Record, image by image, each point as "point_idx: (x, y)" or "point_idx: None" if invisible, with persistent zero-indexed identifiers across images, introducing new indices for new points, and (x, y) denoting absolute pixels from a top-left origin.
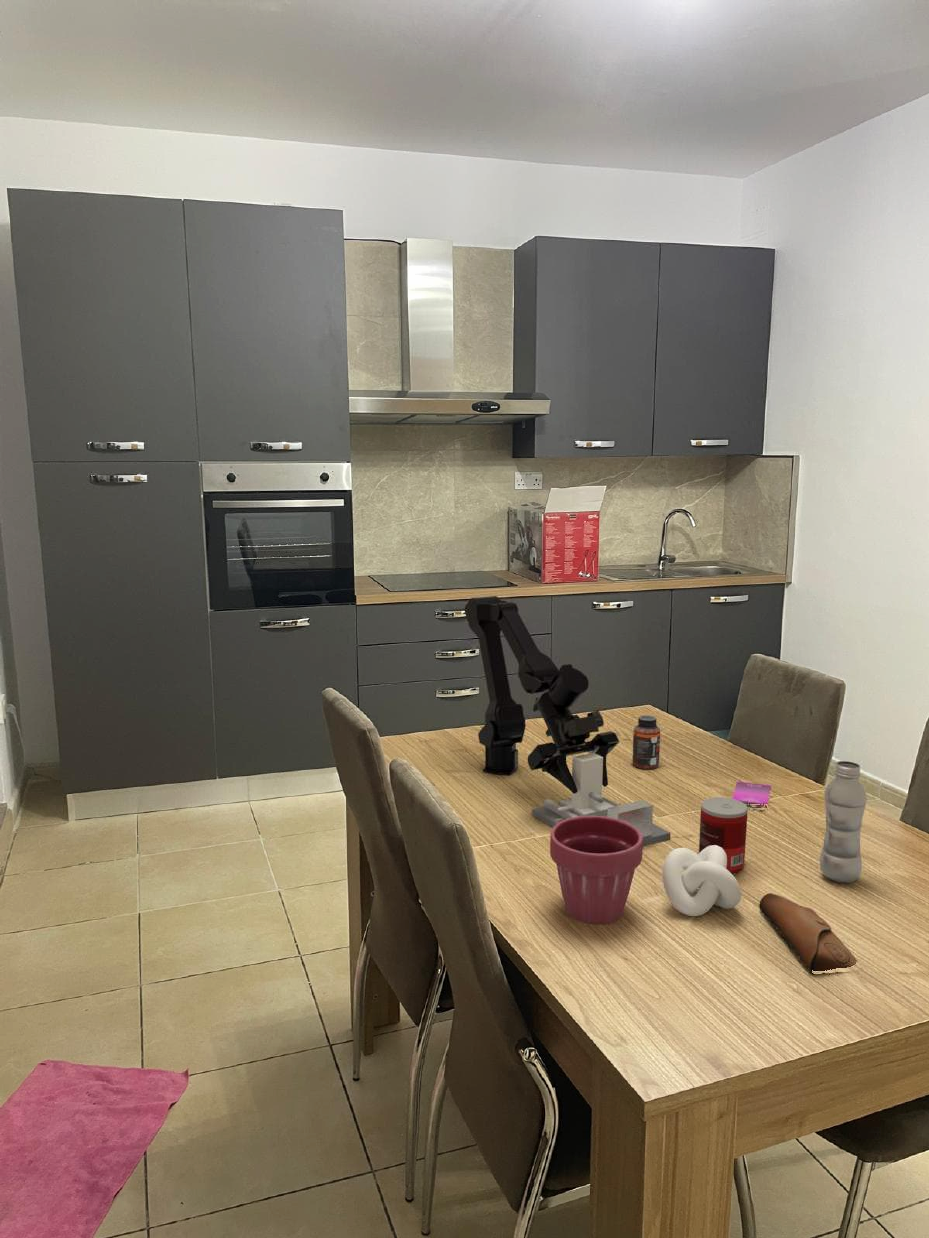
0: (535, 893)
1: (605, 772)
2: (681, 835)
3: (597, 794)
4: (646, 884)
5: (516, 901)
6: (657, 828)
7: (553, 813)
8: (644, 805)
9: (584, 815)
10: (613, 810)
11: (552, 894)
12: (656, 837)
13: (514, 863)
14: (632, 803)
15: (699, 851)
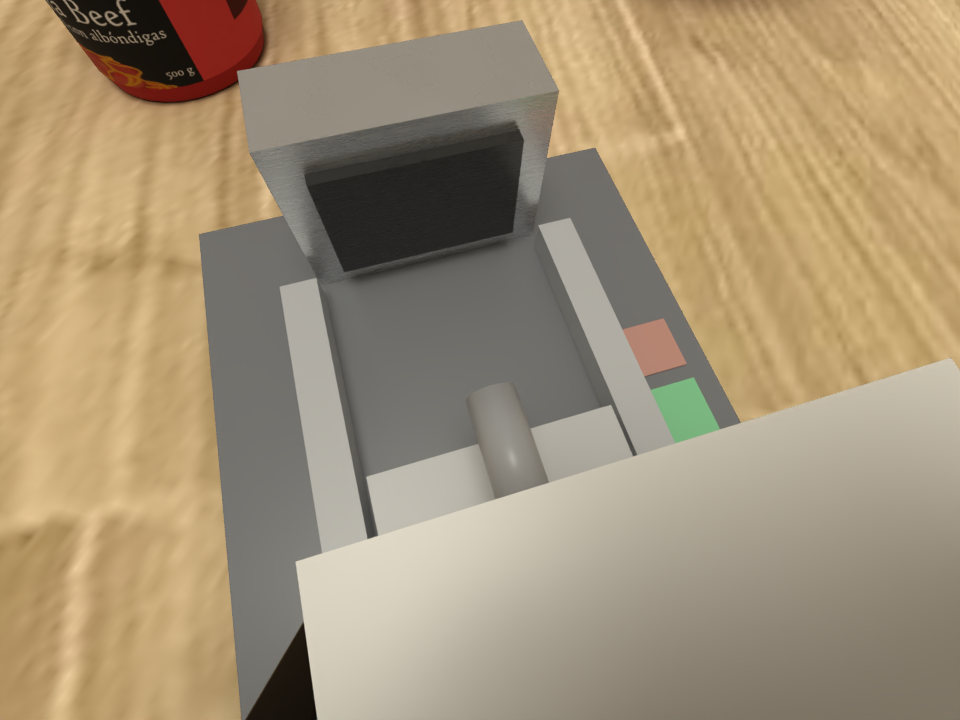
0: (853, 27)
1: (282, 696)
2: (139, 275)
3: (504, 446)
4: (498, 9)
5: (910, 6)
6: (227, 288)
7: None
8: (296, 75)
9: (608, 406)
10: (533, 57)
11: (800, 15)
12: None
13: (942, 193)
14: (356, 116)
15: (238, 7)
